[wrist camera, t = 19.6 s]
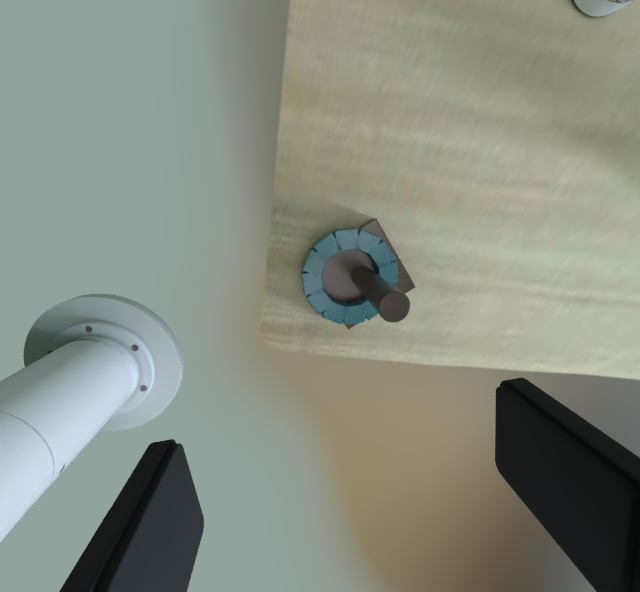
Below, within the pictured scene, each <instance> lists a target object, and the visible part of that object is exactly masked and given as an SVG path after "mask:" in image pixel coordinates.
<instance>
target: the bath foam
mask: <svg viewBox="0 0 640 592" xmlns="http://www.w3.org/2000/svg"><path fill="white" fill-rule="evenodd" d="M631 1H633V0H574V2H575V4H576V5H577V7H578V8H579V9H580V10H581V11H582V12H584V13H585V14H587V15H590V16H596V17H598V16H605V15H608V14H611V13H613V12H615V11H617V10H618V9H620V8H621V7H623V6H625V5H626V4H628V3H629V2H631Z"/></svg>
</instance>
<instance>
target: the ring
mask: <svg viewBox="0 0 640 592" xmlns="http://www.w3.org/2000/svg"><path fill="white" fill-rule="evenodd" d="M313 247H314V248H315V249H312V248H310V249H309V251H308V254H307V256H306V258H305V261H304V263H303V266H302V271H301V272H302V279H303V287H304V295H306V299H307V300H308V302H309V303H310V304H311V305H312V307H313V308H314V309H315V310H316V312H317V313H318V314H321V315H322V317H324V318H326V319H329V320H331V321H334V322H337V323H339V324H341V323H342V321H343V322H344V324H352V323H360V322H365V317H366V318H367V319H368V320H370V319H371V318H373V317H374V316H375V315H377V314H378V312H377V311H376V310H375V308H374V307H373V306H372V305H371V304H370V302H369V301H368V300H367V299H366V298H365V296H362V297H361V298H359V299H358V300H355V301H347V302H342V301H339V300H337V299H334V298H332V297H330V296H329V295H328V293H327V292H326V291H325V289H324V288H323V284H322V275H321V274H322V272H323V270H324V267H325V265H326V263H327V261H328V260H329V259H330V258H331V257H333V256H334V255H335V254H337V253H338V252H339V251H342V250H350V249H358V250H360V251H362V252H364V253H367V255H368V256H369V258H370V259H371V261H372V262H373V264H374V270H375V273H376V274H378V275H379V276H381V277H382V278H383V279H385V280H386V281H387V282H389V283H390V284H391V285H393V286H394V287H395V288H397V286H396V285H395V284H393V283H398V271H397V262H396V261H394V259H395V256H394V255H393V253H392V252H391V250H390V249H389V247H388V246H387V244H386V243H385V241H383V240H381V238H380V237H378V236H375V235H373V234H371V233H369V232H367V231H364V230H362V229H357V228H347V229H339V230H333V234H332V233H331V232H328V233H327V234H326V235H324V236H323V237H322V238H321V239H319V240H318V241H317V242H315V243H314V244H313Z"/></svg>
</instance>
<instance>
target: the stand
mask: <svg viewBox="0 0 640 592" xmlns="http://www.w3.org/2000/svg"><path fill="white" fill-rule="evenodd" d="M357 229H362V230H364V231H367V232H369V233H371V234H373V235H375V236H378V237H380V238H381V240H383V241H385V243H386V244H387V246H388V247H389V249H390V250H391V252H392V253H393V255H394V256H395V259H394V261H396V262H397V271H398V283H393V284H395V285H396V286H397V288H395V287H394V286H393V285H391V284H390V283H389V282H387V281H386V280H385V279H383V278H382V277H381V276H379V275H378V274H376V273H375V270H374V264H373V262H372V261H371V259H370V258H369V256H368V255H367V253H364V252H362V251H360V250H358V249H350V250H342V251H339V252H338V253H337V254H335V255H334V256H333V257H331V258H330V259H329V260H328V261H327V263H326V265H325V267H324V270H323V272H322V274H321V275H322V284H323V288H324V289H325V291H326V292H327V293H328V295H329V296H330V297H332V298H334V299H337V300H339V301H342V302H347V301H355V300H358V299H359V298H361V297H362V296H365V298H366V299H367V300H368V301H369V302H370V304H371V305H372V306H373V307H374V308H375V310H376V311H377V312H378V313H379V314H380V316H381V317H382V318H383V319H384V320H386V321H388V322H398V321H401V320H402V319H404V318H405V317H406V316H407V314H408V313H409V310H410V301H409V299H408V297H407V296H406V295H405V293H407V292H408V291H410V290H411V289H413V288H415V286H414V284H413V282H412V280H411V279H410V277H409V275H408V273H407V272H406V270H405V268H404V266H403V265H402V263H401V261H400V259H399V258H398V256H397V254H396V252H395V251H394V249H393V247H392V245H391V244H390V242H389V240H388V238H387V237H386V235H385V233H384V231H383V230H382V228H381V226H380V224H379V223H378V221H377V219H371V220H370V221H368V222H367V223H365V224H363V225H362V226H360V227H359V228H357ZM365 318H366V317H365ZM356 324H357V323H352V324H345V325H346V326H347V328H348V329H350V328H351V327H353V326H354V325H356Z"/></svg>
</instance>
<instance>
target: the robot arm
mask: <svg viewBox="0 0 640 592" xmlns="http://www.w3.org/2000/svg"><path fill="white" fill-rule="evenodd" d="M155 374H156V371H155V363H154V360H153V357H152V354H151V352H150V351H149V349H148V347H147V346H146V345H145V343H144V342H143V341H142V340H141V339H140V338H139V337H138V336H137V335H136V334H135V333H133V332H132V331H130V330H128V329H127V328H125V327H123V326H120V325H118V324H115V323H111V322H107V321H97V320H92V321H83V322H80V323H77V324H74V325H72V326H70V327H68V328H66V329H64V330H63V331H61V332H60V333H58V334H57V335H56V336H55V337H54V338H53V339H52V340H51V341H50V343H49V345H48V347H47V349H46V352H45V355H44V357H43V358H41V359H39V360H37V361H36V362H34V363H32V364H30V365H29V366H27V367H25V368H23V369H22V370H20V371H18V372H17V373H15V374H13V375H11V376H10V377H8V378H6V379H4V380H3V381H1V382H0V542H1V541H2V540H3V538H4V537H5V536H6V535H7V534H8V533H9V531H10V530H11V529H12V528H13V527H14V526H15V525H16V523H17V522H18V521H19V520H20V519H21V518H22V516H23V515H24V514H25V513H26V512H27V511H28V510H29V508H30V507H31V506H32V505H33V504H34V503H35V502H36V501H37V499H38V498H39V497H40V496H41V495H42V494H43V493H44V492H45V491H46V489H48V487H49V486H50V485H51V484H52V483H53V482H54V480H55V479H56V478H57V477H58V476H59V475H60V474H61V473H62V472H63V470H65V468H66V467H67V466H68V465H69V464H70V463H71V461H73V460H74V458H75V457H76V456H77V455H78V454H79V453H80V452H81V451H82V449H83V448H84V447H85V446H86V445H87V444H88V443H89V442H90V441H91V439H92V438H93V437H94V436H95V435H96V434H97V433H98V432H99V430H100V429H101V428H102V427H103V426H104V425H105V424H106V423H107V422H108V420H109V419H110V418H111V417H112V416H113V415H118V414H122V413H125V412H127V411H129V410H131V409H133V408H135V407H136V406H137V405H139V404H140V403H141V402H142V401H143V400H144V399H145V398H146V396H147V395H148V394H149V392H150V390H151V389H152V386H153V384H154V381H155ZM495 438H496V440H495V442H496V443H495V444H496V445H495V462H496V466H497V468H498V470H499V472H500V474H501V475H502V476H503V477H504V479H505V480H506V481H507V483H508V484H509V485H510V486H511V487H512V489H513V490H514V491H515V492H516V494H517V495H518V496H519V497H520V498H521V500H522V501H523V502H524V503H525V505H526V506H527V507H528V508H529V509H530V511H531V512H532V513H533V514H534V516H535V517H536V518H537V519H538V520H539V522H540V523H541V524H542V525H543V526H544V528H545V529H546V530H547V531H548V533H549V534H550V535H551V536H552V538H553V539H554V540H555V541H556V542H557V544H558V545H559V546H560V547H561V548H562V550H563V551H564V552H565V553H566V555H567V556H568V557H569V558H570V560H571V561H572V562H573V563H574V564H575V566H576V567H577V568H578V569H579V571H580V572H581V573H582V574H583V575H584V577H585V578H586V579H587V580H588V582H589V583H590V584H591V585H592V586H593V587H594V589H595V590H596V591H597V592H640V458H639V457H638V456H636V455H635V454H633V453H632V452H630V451H629V450H628V449H626V448H625V447H623V446H622V445H620V444H619V443H618V442H616V441H615V440H613V439H612V438H610V437H609V436H607V435H606V434H604V433H603V432H602V431H600V430H599V429H597V428H596V427H594V426H593V425H591V424H590V423H588V422H587V421H586V420H584V419H583V418H581V417H580V416H578V415H577V414H576V413H574V412H573V411H571V410H570V409H568V408H567V407H565V406H564V405H562V404H561V403H560V402H558V401H556V400H555V399H554V398H552V397H551V396H549V395H548V394H547V393H545V392H544V391H542V390H541V389H539V388H538V387H536V386H535V385H534V384H532V383H531V382H529V381H528V380H526V379H524V378H517V379H511V380H505V381H502V382H501V384H500V387H498V388H497V389H496V437H495ZM203 528H204V518H203V514H202V511H201V507H200V504H199V500H198V497H197V493H196V490H195V487H194V483H193V480H192V477H191V473H190V470H189V466H188V463H187V459H186V456H185V452H184V449H183V446H182V445H181V444H176V442H175V440H173V439H171V440H165V441H160V442H154V443H151V444H150V445H149V446H148V448H147V450H146V451H145V453H144V455H143V456H142V458H141V460H140V461H139V463H138V464H137V466H136V468H135V469H134V471H133V473H132V474H131V476H130V478H129V479H128V481H127V482H126V484H125V486H124V487H123V489H122V491H121V492H120V494H119V496H118V497H117V499H116V501H115V502H114V504H113V505H112V507H111V509H110V510H109V511H108V513H107V515H106V516H105V518H104V519H103V521H102V523H101V524H100V526H99V528H98V529H97V531H96V533H95V534H94V536H93V537H92V539H91V541H90V542H89V544H88V546H87V548H86V549H85V551H84V552H83V554H82V556H81V557H80V559H79V560H78V562H77V564H76V566H75V567H74V569H73V570H72V572H71V573H70V575H69V577H68V578H67V580H66V582H65V583H64V585H63V587H62V588H61V590H60V592H187V589H188V585H189V581H190V578H191V574H192V570H193V566H194V563H195V559H196V556H197V552H198V548H199V545H200V541H201V537H202V533H203Z"/></svg>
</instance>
